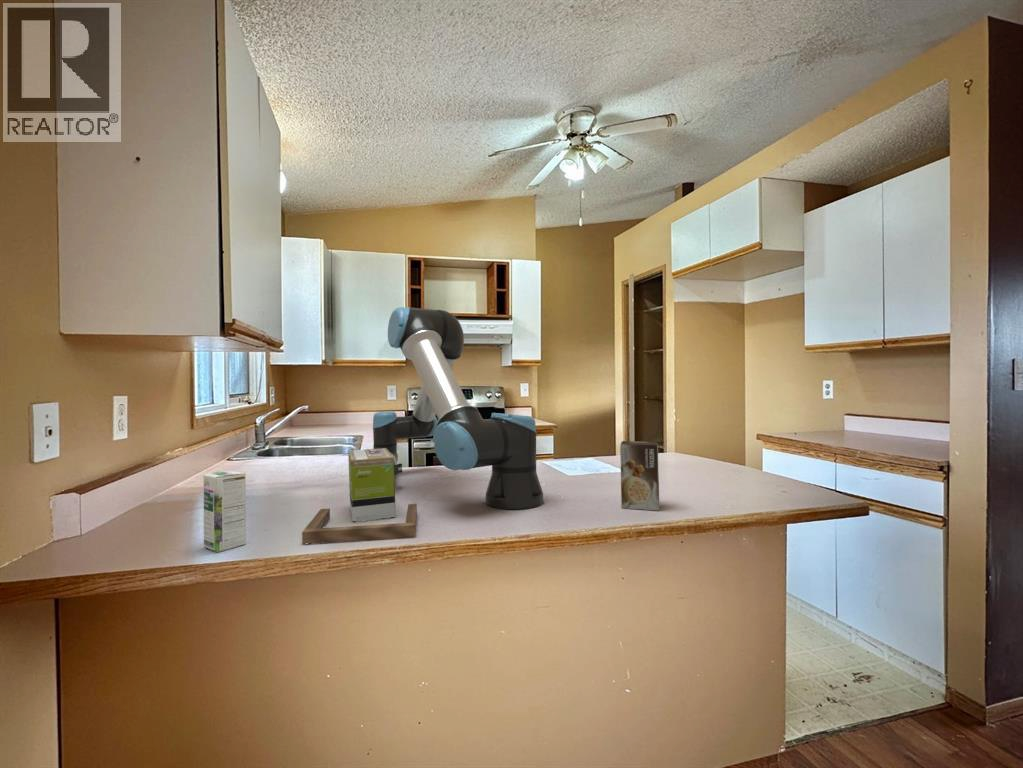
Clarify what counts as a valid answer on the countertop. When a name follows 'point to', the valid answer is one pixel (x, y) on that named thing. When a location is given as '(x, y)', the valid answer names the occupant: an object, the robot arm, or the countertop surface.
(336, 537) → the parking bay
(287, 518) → the countertop surface
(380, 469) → the tea box
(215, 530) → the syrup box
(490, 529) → the countertop surface
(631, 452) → the coffee box
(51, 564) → the countertop surface
